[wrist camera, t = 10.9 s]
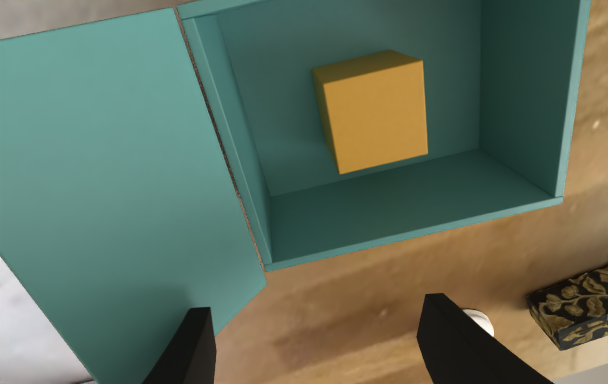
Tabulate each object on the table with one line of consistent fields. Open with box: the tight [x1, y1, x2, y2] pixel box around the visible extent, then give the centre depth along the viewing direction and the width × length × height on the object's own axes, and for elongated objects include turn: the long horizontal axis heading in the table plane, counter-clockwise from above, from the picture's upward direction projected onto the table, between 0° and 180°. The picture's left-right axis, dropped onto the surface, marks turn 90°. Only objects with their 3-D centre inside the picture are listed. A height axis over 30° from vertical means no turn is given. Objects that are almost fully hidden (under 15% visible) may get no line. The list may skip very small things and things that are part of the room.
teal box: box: [176, 0, 591, 272], centre depth 16 cm, size 13×10×6 cm
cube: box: [311, 50, 428, 174], centre depth 17 cm, size 4×4×4 cm
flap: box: [0, 7, 267, 384], centre depth 10 cm, size 6×10×1 cm
